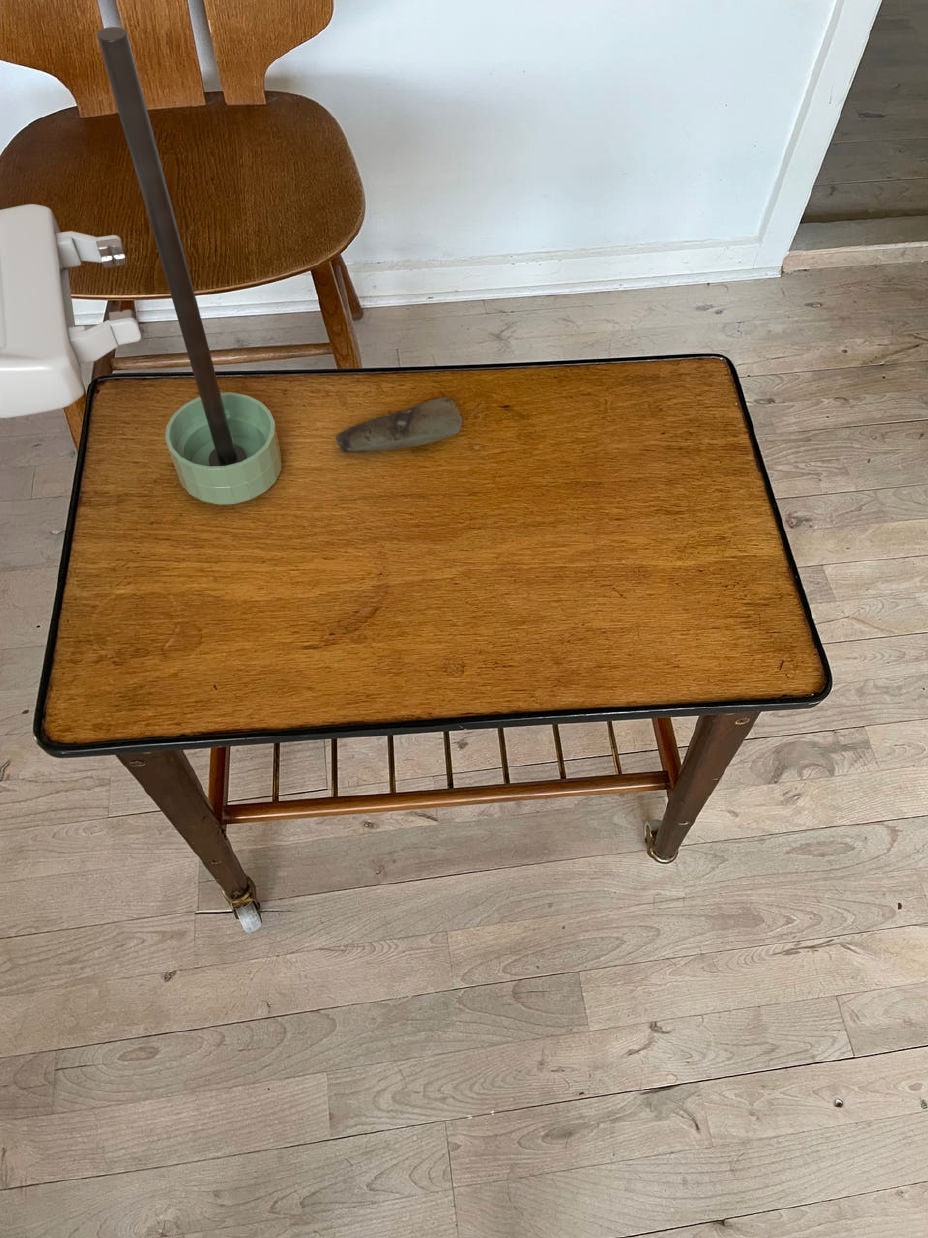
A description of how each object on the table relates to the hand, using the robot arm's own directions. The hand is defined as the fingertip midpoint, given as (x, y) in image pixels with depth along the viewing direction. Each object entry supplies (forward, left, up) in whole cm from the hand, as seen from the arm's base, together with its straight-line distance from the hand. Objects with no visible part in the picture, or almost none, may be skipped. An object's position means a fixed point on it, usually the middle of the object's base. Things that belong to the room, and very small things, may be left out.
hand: (130, 285), depth 65 cm
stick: (+2, +3, -21) cm, 22 cm away
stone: (+13, +16, -22) cm, 31 cm away
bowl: (+2, +3, -22) cm, 22 cm away
